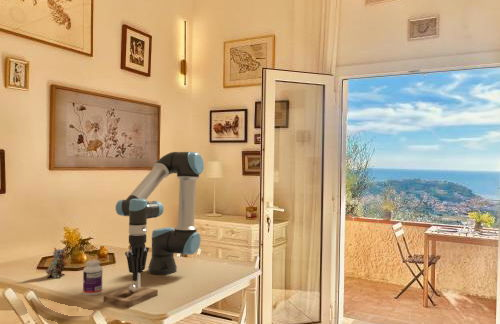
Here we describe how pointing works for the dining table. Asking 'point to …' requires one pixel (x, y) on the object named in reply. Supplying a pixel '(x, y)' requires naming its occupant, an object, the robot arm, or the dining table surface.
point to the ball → (132, 288)
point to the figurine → (57, 264)
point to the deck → (130, 296)
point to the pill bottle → (92, 278)
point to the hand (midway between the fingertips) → (136, 287)
